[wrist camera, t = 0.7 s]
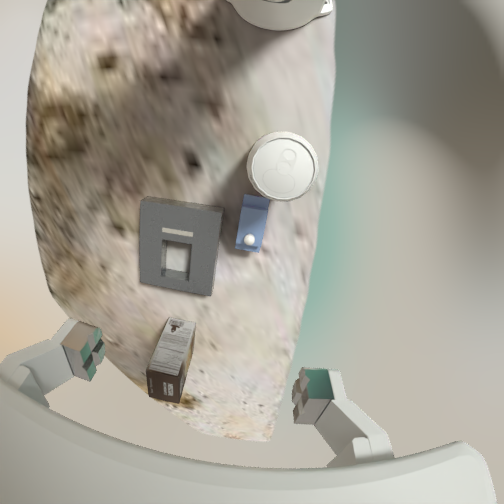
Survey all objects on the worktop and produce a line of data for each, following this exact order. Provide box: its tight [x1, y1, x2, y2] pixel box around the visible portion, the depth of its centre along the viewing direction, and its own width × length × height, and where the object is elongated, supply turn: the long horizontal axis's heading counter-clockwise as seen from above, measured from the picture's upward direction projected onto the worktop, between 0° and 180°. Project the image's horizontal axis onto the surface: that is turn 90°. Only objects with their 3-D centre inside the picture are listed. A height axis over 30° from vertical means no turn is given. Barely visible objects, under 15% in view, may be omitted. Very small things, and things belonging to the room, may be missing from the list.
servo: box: [235, 194, 270, 253], centre depth 44 cm, size 9×4×6 cm, turn 170°
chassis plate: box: [140, 196, 224, 296], centre depth 48 cm, size 16×14×3 cm
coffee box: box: [146, 317, 196, 404], centre depth 51 cm, size 9×6×16 cm
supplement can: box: [246, 132, 319, 202], centre depth 35 cm, size 8×8×15 cm
